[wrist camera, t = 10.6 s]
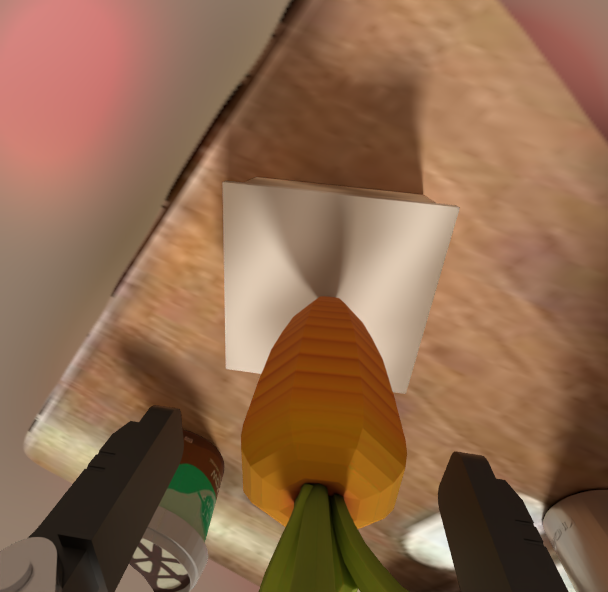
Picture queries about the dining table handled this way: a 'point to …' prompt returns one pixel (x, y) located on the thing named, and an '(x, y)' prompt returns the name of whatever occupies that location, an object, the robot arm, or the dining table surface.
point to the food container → (182, 520)
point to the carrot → (324, 452)
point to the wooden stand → (330, 264)
